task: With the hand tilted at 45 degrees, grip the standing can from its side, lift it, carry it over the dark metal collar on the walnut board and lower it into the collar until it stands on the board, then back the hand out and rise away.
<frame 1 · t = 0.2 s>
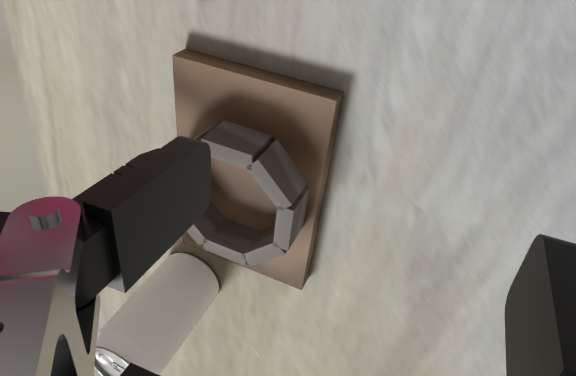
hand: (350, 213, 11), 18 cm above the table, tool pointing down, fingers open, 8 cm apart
socket board: (253, 176, 35), on the table
can: (195, 273, 46), on the table
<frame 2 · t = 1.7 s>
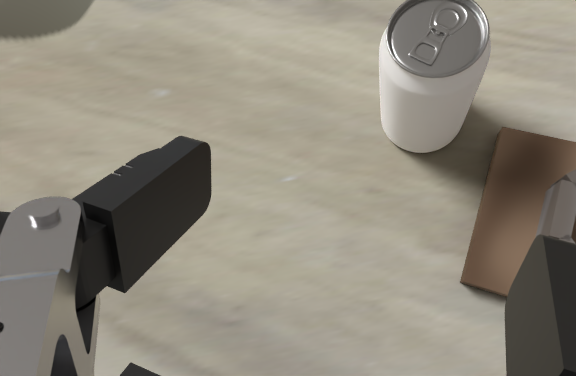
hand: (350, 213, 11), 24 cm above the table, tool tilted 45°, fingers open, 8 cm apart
can: (420, 118, 36), on the table
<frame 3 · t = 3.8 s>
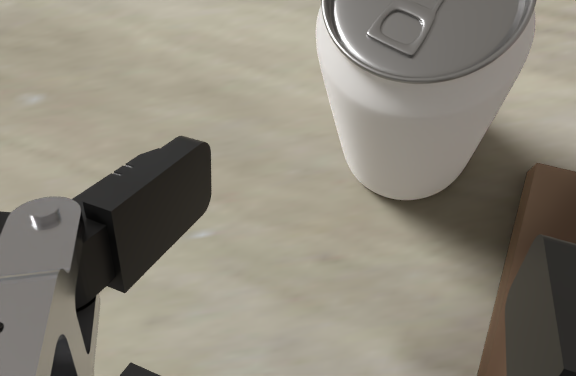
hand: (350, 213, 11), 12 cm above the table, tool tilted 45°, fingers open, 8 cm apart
can: (404, 144, 23), on the table
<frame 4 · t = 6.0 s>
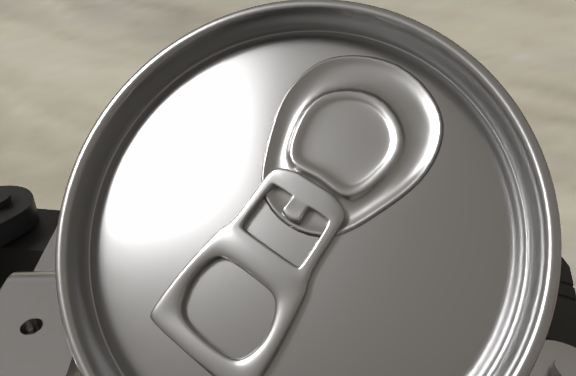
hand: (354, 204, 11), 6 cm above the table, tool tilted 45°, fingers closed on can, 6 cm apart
can: (352, 279, 16), on the table, touching gripper
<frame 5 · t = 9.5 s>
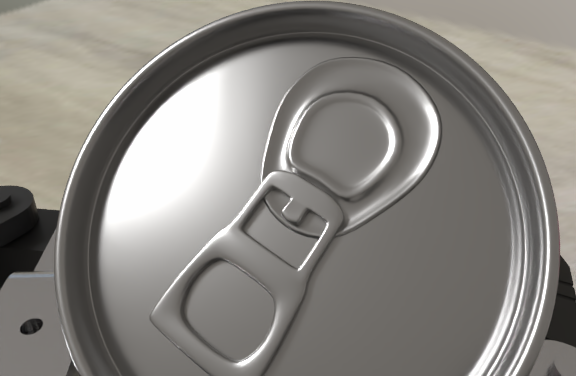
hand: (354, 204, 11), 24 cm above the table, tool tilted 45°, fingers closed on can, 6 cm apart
can: (351, 280, 16), point 18 cm above the table, touching gripper
when the fingers open (7 cm above the table, at t = 13.1 s): can stays where it is, resting on socket board.
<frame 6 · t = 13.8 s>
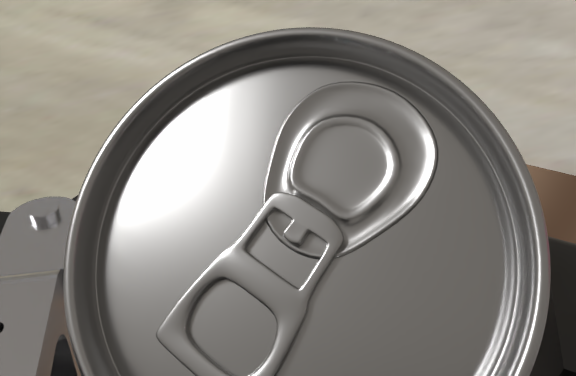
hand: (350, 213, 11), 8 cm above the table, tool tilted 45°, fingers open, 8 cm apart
socket board: (353, 282, 18), on the table
can: (351, 286, 17), point 1 cm above the table, touching socket board
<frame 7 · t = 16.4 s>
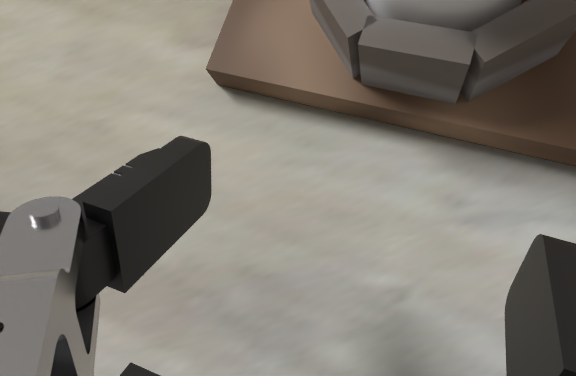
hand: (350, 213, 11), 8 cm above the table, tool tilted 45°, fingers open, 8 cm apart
socket board: (436, 7, 20), on the table
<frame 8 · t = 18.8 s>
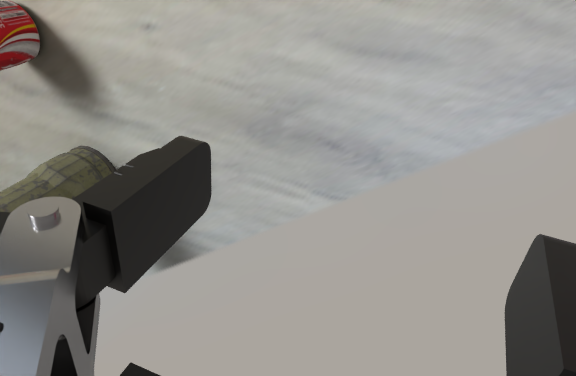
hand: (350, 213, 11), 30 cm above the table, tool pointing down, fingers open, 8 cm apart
soda can: (24, 29, 53), on the table
thermos: (94, 173, 60), on the table
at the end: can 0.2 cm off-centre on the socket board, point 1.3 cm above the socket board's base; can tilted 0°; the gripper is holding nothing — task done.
